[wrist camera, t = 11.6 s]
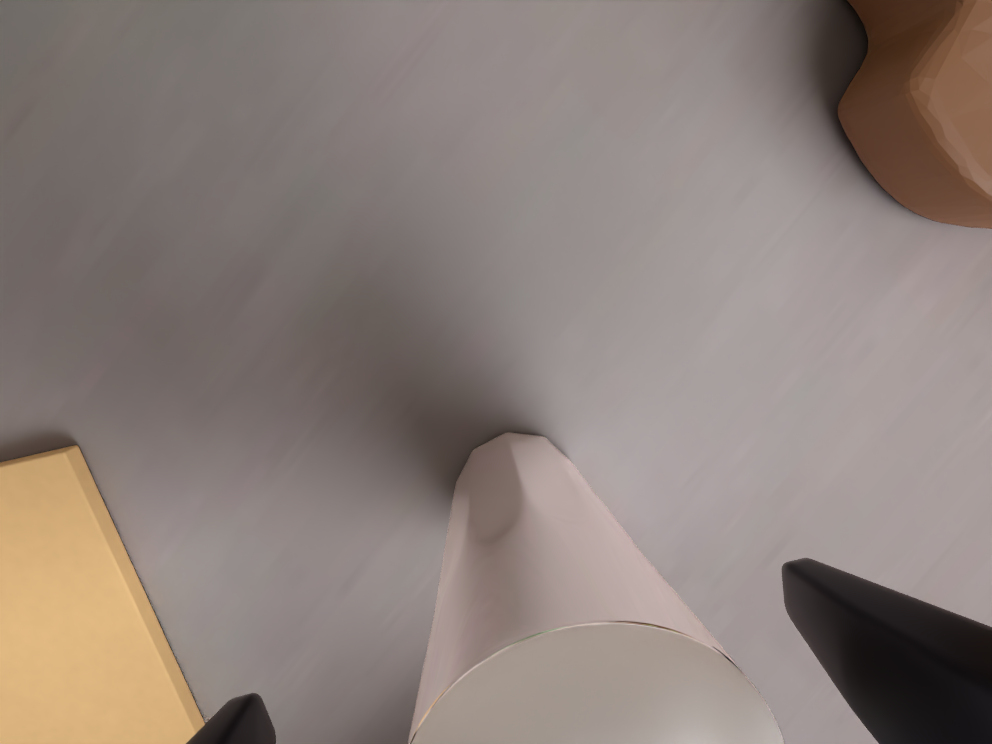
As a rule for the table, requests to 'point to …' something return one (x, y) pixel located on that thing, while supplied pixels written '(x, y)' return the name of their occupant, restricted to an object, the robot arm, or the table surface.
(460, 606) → the milkshake
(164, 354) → the table surface
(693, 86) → the table surface
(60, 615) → the mat
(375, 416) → the table surface
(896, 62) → the plant
